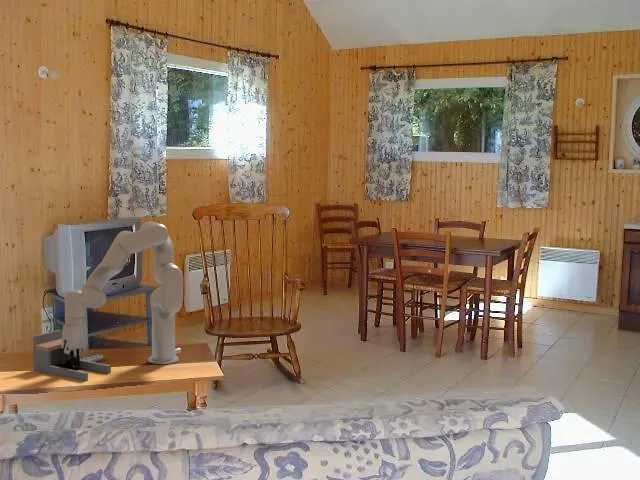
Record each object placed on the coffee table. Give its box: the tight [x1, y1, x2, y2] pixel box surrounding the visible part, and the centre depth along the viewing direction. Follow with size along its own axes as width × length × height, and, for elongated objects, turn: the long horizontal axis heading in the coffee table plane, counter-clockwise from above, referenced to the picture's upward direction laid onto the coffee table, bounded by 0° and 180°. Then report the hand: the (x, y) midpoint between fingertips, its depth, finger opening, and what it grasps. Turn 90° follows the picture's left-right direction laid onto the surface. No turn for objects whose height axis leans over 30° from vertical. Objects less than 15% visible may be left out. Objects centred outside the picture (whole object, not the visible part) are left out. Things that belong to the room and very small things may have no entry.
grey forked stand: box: [32, 329, 112, 382], centre depth 297 cm, size 14×28×14 cm, turn 62°
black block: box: [64, 359, 80, 371], centre depth 299 cm, size 12×7×5 cm, turn 9°
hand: (75, 365), depth 297 cm, fingers closed
